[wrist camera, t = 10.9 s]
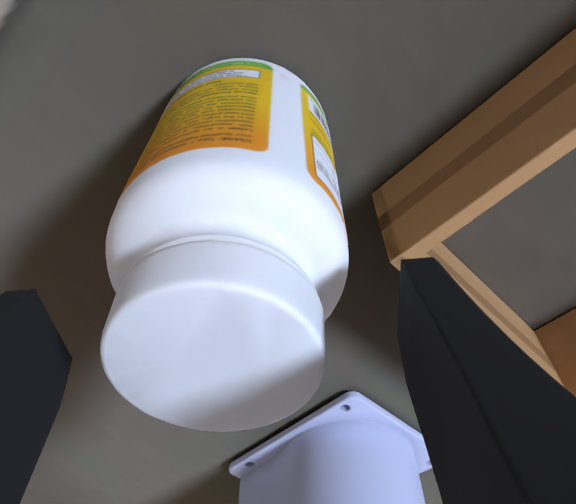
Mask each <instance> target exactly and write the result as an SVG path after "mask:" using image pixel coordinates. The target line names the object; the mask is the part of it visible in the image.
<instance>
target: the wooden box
mask: <svg viewBox="0 0 576 504" xmlns="http://www.w3.org/2000/svg"><path fill="white" fill-rule="evenodd" d="M575 147H576V28H575V29H574V30H573V31H571V32H570V33H569V34H568V35H566V36H565V37H564V38H563V39H561V40H560V41H559V42H558V43H557V44H555V45H554V46H553V47H552V48H550V49H549V50H548V51H547V52H545V53H544V54H543V55H542V56H541V57H539V58H538V59H537V60H536V61H534V62H533V63H532V64H531V65H529V66H528V67H527V68H526V69H525V70H523V71H522V72H521V73H520V74H518V75H517V76H516V77H515V78H514V79H512V80H511V81H510V82H509V83H507V84H506V85H505V86H504V87H502V88H501V89H500V90H499V91H498V92H496V93H495V94H494V95H493V96H491V97H490V98H489V99H488V100H486V101H485V102H484V103H483V104H482V105H480V106H479V107H478V108H477V109H475V110H474V111H473V112H472V113H471V114H469V115H468V116H467V117H466V118H464V119H463V120H462V121H461V122H459V123H458V124H457V125H456V126H455V127H453V128H452V129H451V130H450V131H448V132H447V133H446V134H445V135H443V136H442V137H441V138H440V139H439V140H437V141H436V142H435V143H434V144H432V145H431V146H430V147H429V148H427V149H426V150H425V151H424V152H423V153H421V154H420V155H419V156H418V157H416V158H415V159H414V160H413V161H412V162H410V163H409V164H408V165H407V166H405V167H404V168H403V169H402V170H400V171H399V172H398V173H397V174H396V175H394V176H393V177H392V178H391V179H389V180H388V181H387V182H386V183H384V184H383V185H382V186H381V187H380V188H378V189H377V190H376V191H375V192H373V193H372V198H373V202H374V205H375V209H376V213H377V217H378V223H379V227H380V231H381V233H382V235H383V239H384V243H385V246H386V250H387V254H388V257H389V261H390V263H391V264H392V265H393V266H394V267H395V268H396V269H398V270H399V271H400V265H401V259H414V258H426V257H434V258H435V259H436V260H437V261H439V263H440V264H441V265H442V266H443V267H444V268H445V270H446V271H447V272H448V273H449V274H450V275H451V276H452V278H453V279H454V280H455V281H456V282H457V283H458V284H459V285H460V287H461V288H462V289H463V290H464V291H465V292H466V293H467V294H468V295H469V296H470V298H471V299H472V300H473V301H474V302H475V303H476V304H477V305H478V306H479V307H480V308H481V309H482V310H483V311H484V312H485V314H486V315H487V316H488V317H489V318H490V319H491V320H492V321H493V322H494V323H495V324H496V325H497V326H498V327H499V328H500V329H501V330H502V331H503V332H504V333H505V334H506V335H507V336H508V337H509V338H510V339H511V340H512V341H513V342H515V343H516V344H517V345H518V346H519V347H520V348H521V349H522V350H523V351H524V352H525V353H526V354H527V355H528V356H529V357H531V358H532V359H533V360H534V361H535V362H536V363H537V364H538V365H539V366H541V367H542V368H543V369H544V370H545V371H546V372H547V373H548V374H549V375H551V376H552V377H553V378H554V379H555V380H556V381H558V382H559V383H560V384H561V385H562V386H563V387H565V388H566V389H567V390H568V391H569V392H571V393H572V394H573V395H574V396H575V397H576V308H575V309H573V310H571V311H570V312H568V313H566V314H564V315H562V316H561V317H559V318H557V319H555V320H554V321H552V322H550V323H548V324H546V325H545V326H543V327H541V328H539V329H537V330H536V331H533V330H532V329H531V328H530V327H529V326H528V325H527V324H526V323H525V322H524V321H523V320H522V319H521V318H520V317H518V316H517V315H516V314H515V313H514V312H513V311H512V310H511V309H510V308H509V307H508V306H507V305H506V304H505V303H504V302H503V301H502V300H501V299H500V298H499V297H498V296H497V295H495V294H494V293H493V292H492V291H491V290H490V289H489V288H488V287H487V286H486V285H485V284H484V283H483V282H482V281H481V280H480V279H479V278H478V277H477V276H476V275H475V274H474V273H472V272H471V271H470V270H469V269H468V268H467V267H466V266H465V265H464V264H463V263H462V262H461V261H460V260H459V259H458V258H457V257H456V256H455V255H454V254H453V253H452V252H451V251H449V250H448V249H447V248H446V247H445V246H444V245H443V244H442V243H441V242H442V241H444V240H445V239H446V238H448V237H449V236H451V235H452V234H453V233H455V232H456V231H458V230H459V229H461V228H462V227H463V226H465V225H466V224H468V223H469V222H470V221H472V220H473V219H475V218H476V217H478V216H479V215H480V214H482V213H483V212H485V211H486V210H488V209H489V208H490V207H492V206H493V205H495V204H496V203H497V202H499V201H500V200H502V199H503V198H505V197H506V196H507V195H509V194H510V193H512V192H513V191H514V190H516V189H517V188H519V187H520V186H522V185H523V184H524V183H526V182H527V181H529V180H530V179H531V178H533V177H534V176H536V175H537V174H539V173H540V172H541V171H543V170H544V169H546V168H547V167H549V166H550V165H551V164H553V163H554V162H556V161H557V160H558V159H560V158H561V157H563V156H564V155H566V154H567V153H568V152H570V151H571V150H573V149H574V148H575Z"/></svg>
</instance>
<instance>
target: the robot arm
mask: <svg viewBox="0 0 576 504" xmlns="http://www.w3.org/2000/svg"><path fill="white" fill-rule="evenodd" d="M398 340H399V346H400V352H401V357H402V363H403V368H404V373H405V378H406V383H407V386H408V390H409V393H410V396H411V400H412V403H413V406H414V410H415V413H416V416H417V419H418V423H419V426H420V429H421V432H422V434H420V433H419V432H417V431H416V430H414V429H413V428H411V427H410V426H408V425H407V424H405V423H404V422H402V421H401V420H399V419H398V418H396V417H395V416H393V415H392V414H390V413H389V412H387V411H386V410H384V409H383V408H381V407H380V406H378V405H377V404H375V403H374V402H372V401H371V400H369V399H368V398H366V397H365V396H363V395H362V394H360V393H358V392H356V391H349V392H347V393H345V394H343V395H341V396H340V397H338V398H336V399H335V400H333V401H331V402H330V403H328V404H327V405H325V406H323V407H322V408H320V409H318V410H317V411H315V412H313V413H312V414H310V415H308V416H307V417H305V418H304V419H302V420H300V421H299V422H297V423H295V424H294V425H292V426H290V427H289V428H287V429H286V430H284V431H282V432H281V433H279V434H277V435H276V436H274V437H272V438H271V439H269V440H267V441H266V442H264V443H263V444H261V445H259V446H258V447H256V448H254V449H253V450H251V451H249V452H248V453H246V454H244V455H243V456H241V457H240V458H238V459H236V460H235V461H233V462H231V463H230V465H229V472H230V474H232V475H234V476H236V477H238V478H240V489H239V502H238V504H425V500H424V495H423V491H422V486H421V482H420V477H419V474H420V473H422V472H424V471H426V470H428V469H430V468H433V471H434V475H435V478H436V481H437V484H438V488H439V491H440V494H441V498H442V502H443V504H576V397H575V396H574V395H573V394H572V393H571V392H569V391H568V390H567V389H566V388H565V387H563V386H562V385H561V384H560V383H559V382H558V381H556V380H555V379H554V378H553V377H552V376H551V375H549V374H548V373H547V372H546V371H545V370H544V369H543V368H542V367H541V366H539V365H538V364H537V363H536V362H535V361H534V360H533V359H532V358H531V357H529V356H528V355H527V354H526V353H525V352H524V351H523V350H522V349H521V348H520V347H519V346H518V345H517V344H516V343H515V342H513V341H512V340H511V339H510V338H509V337H508V336H507V335H506V334H505V333H504V332H503V331H502V330H501V329H500V328H499V327H498V326H497V325H496V324H495V323H494V322H493V321H492V320H491V319H490V318H489V317H488V316H487V315H486V314H485V312H484V311H483V310H482V309H481V308H480V307H479V306H478V305H477V304H476V303H475V302H474V301H473V300H472V299H471V298H470V296H469V295H468V294H467V293H466V292H465V291H464V290H463V289H462V288H461V287H460V285H459V284H458V283H457V282H456V281H455V280H454V279H453V278H452V276H451V275H450V274H449V273H448V272H447V271H446V270H445V268H444V267H443V266H442V265H441V264H440V263H439V261H437V260H436V259H435V258H434V257H426V258H414V259H401V265H400V289H399V312H398ZM71 361H72V357H71V355H70V353H69V352H68V350H67V348H66V346H65V344H64V342H63V340H62V339H61V337H60V335H59V333H58V331H57V329H56V327H55V326H54V324H53V322H52V320H51V318H50V316H49V314H48V313H47V311H46V309H45V307H44V305H43V303H42V301H41V299H40V298H39V296H38V294H37V292H36V290H35V289H32V290H19V291H7V292H4V293H3V294H1V295H0V504H20V501H21V499H22V497H23V494H24V492H25V489H26V487H27V485H28V482H29V480H30V478H31V475H32V473H33V470H34V468H35V466H36V463H37V461H38V458H39V456H40V454H41V451H42V449H43V447H44V444H45V442H46V439H47V437H48V434H49V432H50V429H51V427H52V425H53V422H54V420H55V417H56V415H57V412H58V410H59V407H60V404H61V400H62V397H63V393H64V390H65V386H66V382H67V378H68V374H69V370H70V366H71Z"/></svg>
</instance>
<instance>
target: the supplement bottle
mask: <svg viewBox="0 0 576 504" xmlns="http://www.w3.org/2000/svg"><path fill="white" fill-rule="evenodd" d="M105 254H106V261H107V270H108V273H109V277H110V281H111V284H112V286H113V288H114V290H115V292H116V295H115V298H114V301H113V304H112V306H111V309H110V312H109V315H108V318H107V321H106V323H105V326H104V329H103V332H102V336H101V341H100V358H101V363H102V366H103V369H104V372H105V374H106V376H107V378H108V379H109V381H110V383H111V384H112V385H113V387H114V388H115V389H116V390H117V391H118V393H119V394H120V395H121V396H122V397H123V398H125V399H126V400H127V401H128V402H130V403H131V404H132V405H134V406H135V407H137V408H138V409H140V410H141V411H143V412H144V413H146V414H148V415H151V416H153V417H155V418H157V419H159V420H162V421H164V422H167V423H170V424H173V425H177V426H181V427H185V428H190V429H195V430H203V431H240V430H247V429H253V428H259V427H262V426H266V425H269V424H272V423H275V422H277V421H279V420H282V419H284V418H286V417H288V416H290V415H291V414H293V413H294V412H296V411H297V410H299V409H300V408H301V407H302V406H304V405H305V404H306V403H307V402H308V401H309V400H310V399H311V398H312V396H313V395H314V394H315V392H316V391H317V389H318V387H319V386H320V383H321V380H322V378H323V375H324V371H325V364H326V354H325V320H326V319H327V318H328V317H329V316H330V315H331V313H332V311H333V310H334V308H335V307H336V305H337V303H338V301H339V299H340V297H341V295H342V292H343V289H344V286H345V282H346V278H347V272H348V265H349V252H348V239H347V232H346V227H345V221H344V216H343V210H342V205H341V199H340V193H339V187H338V180H337V174H336V170H335V163H334V157H333V151H332V145H331V139H330V133H329V128H328V125H327V121H326V118H325V115H324V112H323V110H322V107H321V105H320V103H319V102H318V100H317V98H316V97H315V95H314V94H313V93H312V91H311V90H310V89H309V88H308V86H307V85H306V84H305V83H304V82H303V81H302V80H301V79H299V78H298V77H297V76H295V75H294V74H293V73H291V72H290V71H288V70H286V69H285V68H283V67H281V66H278V65H276V64H273V63H271V62H267V61H263V60H259V59H251V58H233V59H226V60H221V61H217V62H214V63H211V64H209V65H207V66H205V67H203V68H201V69H199V70H198V71H196V72H195V73H193V74H192V75H191V76H189V77H188V78H187V79H186V80H185V81H184V82H183V83H182V84H181V85H180V87H179V88H178V89H177V90H176V92H175V93H174V95H173V96H172V98H171V99H170V101H169V103H168V104H167V106H166V108H165V110H164V112H163V114H162V116H161V118H160V120H159V122H158V124H157V126H156V128H155V130H154V132H153V134H152V136H151V138H150V140H149V142H148V144H147V146H146V147H145V149H144V151H143V153H142V155H141V157H140V158H139V160H138V162H137V164H136V166H135V168H134V170H133V172H132V174H131V176H130V177H129V180H128V182H127V184H126V186H125V188H124V189H123V192H122V194H121V196H120V198H119V200H118V202H117V205H116V207H115V210H114V213H113V215H112V218H111V220H110V223H109V227H108V231H107V237H106V252H105Z"/></svg>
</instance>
